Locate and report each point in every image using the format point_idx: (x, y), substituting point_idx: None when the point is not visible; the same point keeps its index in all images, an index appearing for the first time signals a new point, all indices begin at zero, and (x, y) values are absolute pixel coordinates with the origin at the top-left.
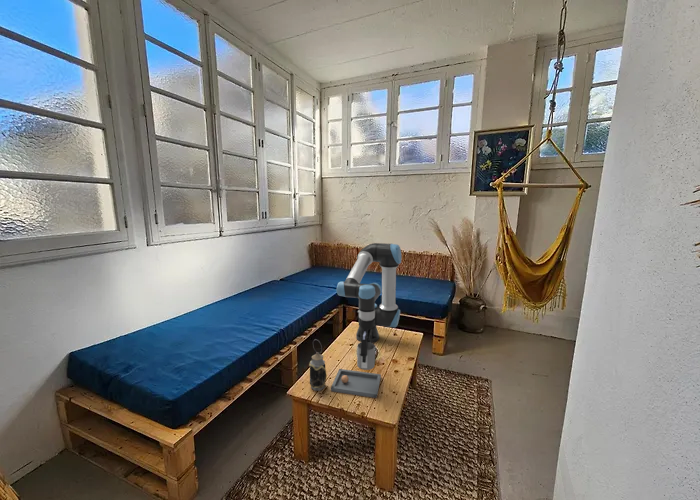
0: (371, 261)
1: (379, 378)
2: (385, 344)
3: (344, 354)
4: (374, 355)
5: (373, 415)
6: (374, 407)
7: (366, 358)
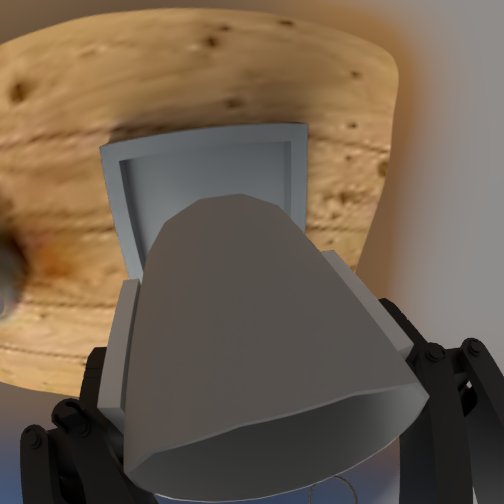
0: None
1: (145, 140)
2: None
3: (40, 356)
4: (259, 259)
5: (389, 127)
6: (350, 126)
7: (389, 322)
